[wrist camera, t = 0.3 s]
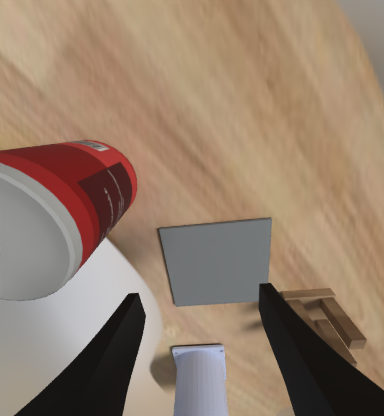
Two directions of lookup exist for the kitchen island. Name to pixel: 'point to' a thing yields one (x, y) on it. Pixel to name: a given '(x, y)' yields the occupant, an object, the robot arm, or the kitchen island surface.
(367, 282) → the kitchen island surface
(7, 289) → the canned food
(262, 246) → the mat
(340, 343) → the stool
